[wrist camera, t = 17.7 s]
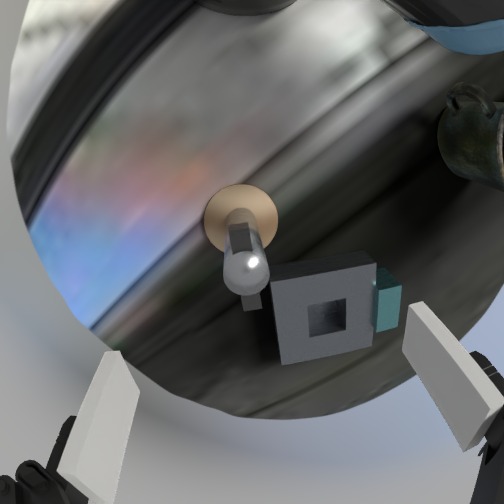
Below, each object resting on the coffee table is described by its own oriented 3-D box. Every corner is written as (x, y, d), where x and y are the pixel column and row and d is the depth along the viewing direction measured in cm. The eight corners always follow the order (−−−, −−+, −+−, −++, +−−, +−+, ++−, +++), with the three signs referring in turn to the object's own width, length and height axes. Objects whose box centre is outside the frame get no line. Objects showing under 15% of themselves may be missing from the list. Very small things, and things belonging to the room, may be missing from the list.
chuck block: (266, 266, 37) (271, 286, 32) (384, 245, 37) (403, 261, 32) (277, 345, 41) (282, 370, 37) (380, 323, 41) (394, 344, 37)
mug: (463, 196, 35) (524, 224, 24) (400, 118, 31) (466, 121, 20) (498, 142, 32) (559, 156, 21) (441, 63, 28) (506, 52, 17)
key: (231, 251, 35) (232, 316, 23) (221, 195, 33) (214, 235, 21) (260, 246, 35) (274, 309, 23) (251, 190, 33) (263, 227, 21)
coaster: (197, 191, 33) (197, 192, 32) (272, 178, 33) (272, 179, 32) (211, 259, 36) (211, 261, 35) (281, 247, 36) (282, 249, 35)
